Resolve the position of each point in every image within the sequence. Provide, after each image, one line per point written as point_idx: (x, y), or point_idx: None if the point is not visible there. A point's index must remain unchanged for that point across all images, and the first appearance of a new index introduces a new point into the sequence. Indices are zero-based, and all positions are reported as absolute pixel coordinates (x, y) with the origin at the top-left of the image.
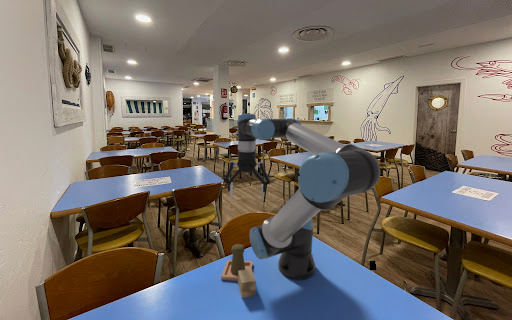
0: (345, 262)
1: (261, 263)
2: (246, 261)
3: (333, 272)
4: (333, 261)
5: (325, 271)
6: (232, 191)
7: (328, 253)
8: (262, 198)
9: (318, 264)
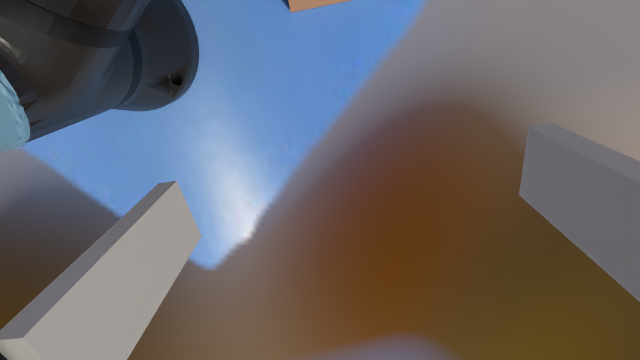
0: None
1: (261, 30)
2: (315, 3)
3: None
4: None
5: None
6: (583, 213)
7: (70, 160)
8: (153, 193)
9: None
